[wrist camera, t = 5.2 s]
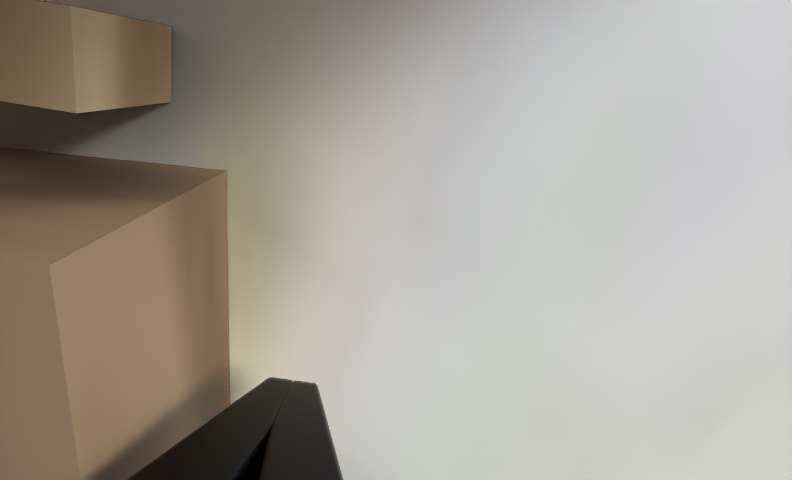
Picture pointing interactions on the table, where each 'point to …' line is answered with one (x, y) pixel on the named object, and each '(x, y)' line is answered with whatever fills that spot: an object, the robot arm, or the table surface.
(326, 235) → the table surface
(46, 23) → the tunnel
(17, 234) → the walnut block
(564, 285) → the table surface
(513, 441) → the table surface
